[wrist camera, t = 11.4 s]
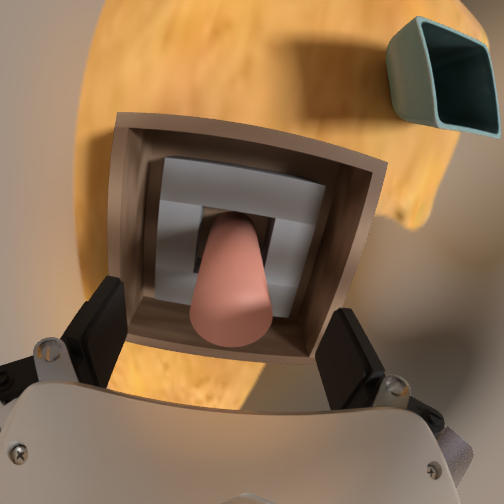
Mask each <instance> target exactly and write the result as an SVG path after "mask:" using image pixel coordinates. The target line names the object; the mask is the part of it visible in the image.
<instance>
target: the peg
mask: <svg viewBox="0 0 504 504" xmlns="http://www.w3.org/2000/svg"><path fill="white" fill-rule="evenodd" d="M272 318H273V311H272V306H271V301H270V296H269V291H268V286H267V281H266V277H265V272H264V267H263V262H262V258H261V253H260V248H259V243H258V239H257V234H256V229H255V226H254V223H253V222H252V220H251V219H250V218H249V217H248V216H247V215H245V214H243V213H241V212H237V211H229V212H225V213H222V214H221V215H219V216H218V217H217V218H216V219H215V220H214V221H213V223H212V225H211V228H210V232H209V235H208V239H207V243H206V246H205V250H204V254H203V258H202V262H201V265H200V269H199V273H198V277H197V281H196V285H195V289H194V294H193V298H192V302H191V306H190V321H191V324H192V326H193V328H194V329H195V331H196V332H197V333H198V334H199V335H200V336H201V337H202V338H203V339H205V340H206V341H208V342H210V343H212V344H215V345H218V346H223V347H241V346H245V345H248V344H251V343H253V342H255V341H257V340H258V339H260V338H261V337H262V336H263V335H264V334H265V333H266V332H267V331H268V329H269V327H270V325H271V323H272Z"/></svg>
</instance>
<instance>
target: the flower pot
mask: <svg viewBox="0 0 504 504" xmlns="http://www.w3.org/2000/svg"><path fill="white" fill-rule="evenodd" d="M386 67H387V73H388V79H389V85H390V92H391V100H392V106H393V109H394V111H395V112H396V114H397V115H398V116H399V117H400V118H401V119H403V120H405V121H407V122H411V123H415V124H421V125H425V126H430V127H435V128H440V129H444V130H453V131H460V132H467V133H472V134H477V135H483V136H487V137H491V138H495V139H500V138H501V123H500V114H499V105H498V98H497V91H496V84H495V78H494V73H493V67H492V63H491V58H490V54H489V51H488V48H487V46H486V45H485V44H484V43H482V42H480V41H478V40H477V39H474V38H472V37H470V36H468V35H465V34H463V33H461V32H459V31H457V30H454V29H452V28H449V27H447V26H445V25H442V24H440V23H437V22H435V21H432V20H430V19H427V18H424V17H421V16H416V17H415V18H414V19H413V20H411V21H410V22H409V23H408V24H407V25H405V26H404V27H403V28H402V29H401V30H400V31H399V32H398V33H397V34H396V35H395V36H394V37H393V38H392V39H391V41H390V42H389V44H388V47H387V51H386Z"/></svg>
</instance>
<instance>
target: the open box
mask: <svg viewBox="0 0 504 504" xmlns="http://www.w3.org/2000/svg"><path fill="white" fill-rule="evenodd" d="M387 165H388V162H385V161H382V160H380V159H377V158H374V157H371V156H368V155H365V154H362V153H359V152H356V151H353V150H350V149H346V148H343V147H340V146H336V145H333V144H330V143H326V142H322V141H319V140H315V139H311V138H307V137H303V136H299V135H295V134H291V133H287V132H282V131H278V130H273V129H268V128H263V127H258V126H253V125H247V124H242V123H236V122H229V121H223V120H216V119H208V118H200V117H191V116H181V115H170V114H156V113H134V112H117V116H116V122H115V129H114V136H113V144H112V152H111V162H110V174H109V188H108V213H107V246H108V271H109V276H114V277H119V278H120V280H121V281H122V282H124V290H125V304H126V315H127V325H128V334H127V337H126V340H125V341H126V342H131V343H135V344H140V345H144V346H149V347H154V348H159V349H164V350H170V351H176V352H181V353H187V354H194V355H200V356H207V357H215V358H223V359H231V360H240V361H251V362H262V363H276V364H295V365H316V364H317V363H316V360H315V352H316V350H317V348H318V346H319V343H320V341H321V339H322V337H323V335H324V332H325V330H326V328H327V326H328V323H329V321H330V319H331V316H332V314H333V312H334V311H335V310H337V309H338V308H342V306H343V303H344V301H345V298H346V296H347V293H348V290H349V288H350V285H351V283H352V280H353V277H354V275H355V272H356V269H357V266H358V263H359V261H360V258H361V255H362V252H363V249H364V246H365V243H366V240H367V237H368V234H369V230H370V227H371V224H372V220H373V217H374V214H375V211H376V207H377V204H378V200H379V196H380V193H381V189H382V185H383V181H384V177H385V173H386V169H387ZM229 211H237V212H241V213H243V214H245V215H247V216H248V217H249V218H250V219H251V220H252V222H253V223H254V226H255V229H256V234H257V239H258V243H259V248H260V253H261V258H262V262H263V267H264V272H265V277H266V281H267V286H268V291H269V296H270V301H271V306H272V311H273V318H272V323H271V325H270V327H269V329H268V331H267V332H266V333H265V334H264V335H263V336H262V337H261V338H260V339H258V340H257V341H255V342H253V343H251V344H248V345H245V346H241V347H223V346H218V345H215V344H212V343H210V342H208V341H206V340H205V339H203V338H202V337H201V336H200V335H199V334H198V333H197V332H196V331H195V329H194V328H193V326H192V324H191V321H190V306H191V302H192V298H193V294H194V289H195V285H196V281H197V277H198V273H199V269H200V265H201V262H202V258H203V254H204V250H205V246H206V243H207V239H208V235H209V232H210V228H211V225H212V223H213V221H214V220H215V219H216V218H217V217H218V216H219V215H221V214H222V213H225V212H229Z"/></svg>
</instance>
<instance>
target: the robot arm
mask: <svg viewBox="0 0 504 504" xmlns="http://www.w3.org/2000/svg"><path fill="white" fill-rule="evenodd" d="M127 334H128V325H127V315H126V304H125V290H124V282H122V281H121V280H120V278H119V277H114V276H106V277H105V279H104V280H103V281H102V283H101V284H100V286H99V287H98V288H97V290H96V291H95V292H94V294H93V295H92V297H91V298H90V299H89V301H86V302H85V303H84V304H83V306H82V307H81V309H80V310H79V311H78V313H77V314H76V316H75V317H74V319H73V320H72V321H71V323H70V325H69V326H68V327H67V329H66V330H65V332H64V334H63V335H62V337H61V338H60V339H58V338H54V337H49V338H45V339H42V340H41V341H39V342H38V343H37V344H36V345H35V347H34V350H33V356H30V357H27V358H24V359H21V360H17V361H14V362H11V363H8V364H5V365H1V366H0V504H460V500H459V497H458V493H457V490H456V488H457V486H458V484H459V483H460V481H461V479H462V477H463V476H464V474H465V472H466V470H467V468H468V467H469V465H470V463H471V461H472V459H473V450H472V447H471V446H470V445H469V444H468V443H467V442H466V441H464V440H463V439H462V438H461V437H460V436H459V435H458V434H457V433H455V432H454V431H453V430H452V429H451V428H450V427H449V426H447V427H446V428H445V427H444V418H443V416H442V415H441V414H440V413H439V412H438V411H437V410H435V409H433V408H432V407H430V406H428V405H426V404H424V403H422V402H420V401H418V400H417V399H415V398H413V397H411V396H410V392H411V389H410V386H409V384H408V383H407V382H406V381H405V380H404V379H403V378H401V377H400V376H397V375H387V376H385V374H384V372H385V369H384V367H383V365H382V363H381V361H380V360H379V358H378V356H377V354H376V352H375V350H374V348H373V347H372V345H371V344H370V341H369V340H368V337H367V336H366V334H365V332H364V330H363V329H362V327H361V325H360V323H359V322H358V320H357V318H356V316H355V314H354V313H353V311H352V309H350V308H338V309H337V310H335V311H334V312H333V314H332V316H331V319H330V321H329V323H328V326H327V328H326V330H325V332H324V335H323V337H322V339H321V341H320V343H319V346H318V348H317V350H316V352H315V360H316V363H317V366H318V370H319V372H320V376H321V379H322V383H323V386H324V389H325V392H326V396H327V399H328V402H329V406H330V409H331V410H328V411H308V412H307V411H306V412H265V411H263V412H262V411H243V410H229V409H218V408H208V407H200V406H192V405H185V404H178V403H172V402H166V401H160V400H155V399H150V398H145V397H140V396H135V395H131V394H126V393H122V392H118V391H114V390H110V389H106V387H107V385H108V382H109V379H110V377H111V374H112V372H113V369H114V366H115V364H116V361H117V359H118V356H119V354H120V352H121V349H122V347H123V344H124V342H125V340H126V337H127Z"/></svg>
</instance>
